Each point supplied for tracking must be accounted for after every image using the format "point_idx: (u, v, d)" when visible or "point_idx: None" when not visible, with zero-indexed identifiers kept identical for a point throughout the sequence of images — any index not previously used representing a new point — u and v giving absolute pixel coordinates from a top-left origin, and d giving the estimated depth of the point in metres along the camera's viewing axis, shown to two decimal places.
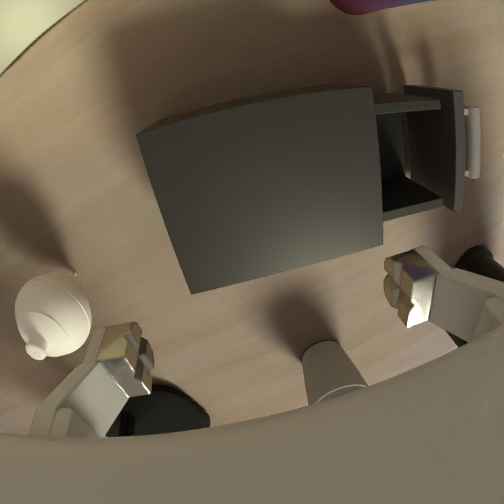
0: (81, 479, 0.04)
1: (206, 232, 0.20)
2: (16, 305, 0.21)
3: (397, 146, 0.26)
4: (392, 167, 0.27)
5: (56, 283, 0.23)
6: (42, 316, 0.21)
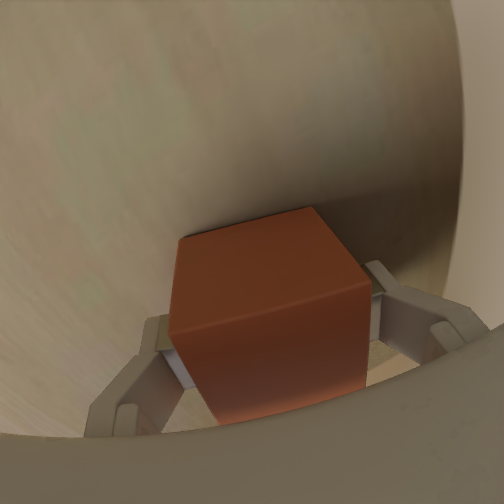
0: (81, 479, 0.04)
1: None
2: None
3: None
4: None
5: None
6: None
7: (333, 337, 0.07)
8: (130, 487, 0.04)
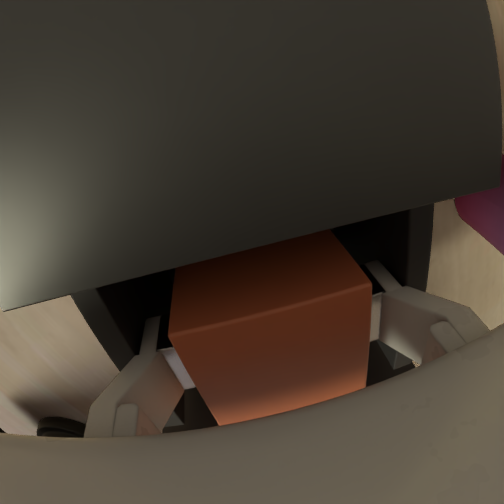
0: (81, 479, 0.04)
1: None
2: None
3: None
4: None
5: None
6: None
7: (334, 339, 0.07)
8: (130, 487, 0.04)
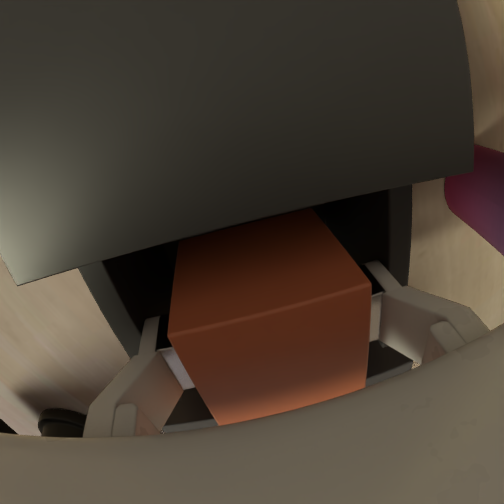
0: (81, 479, 0.04)
1: None
2: None
3: None
4: None
5: None
6: None
7: (333, 340, 0.07)
8: (130, 487, 0.04)
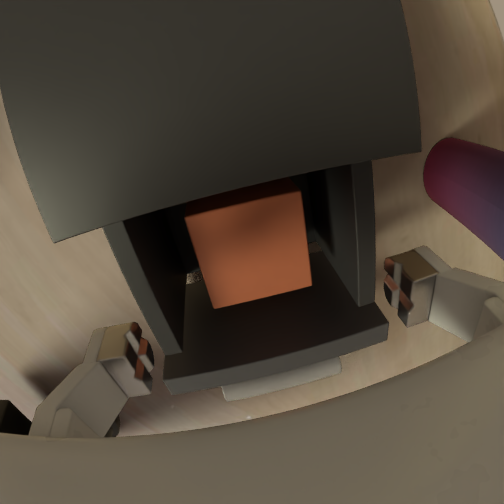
0: (81, 479, 0.04)
1: None
2: None
3: None
4: None
5: None
6: None
7: (281, 227, 0.12)
8: (130, 487, 0.04)
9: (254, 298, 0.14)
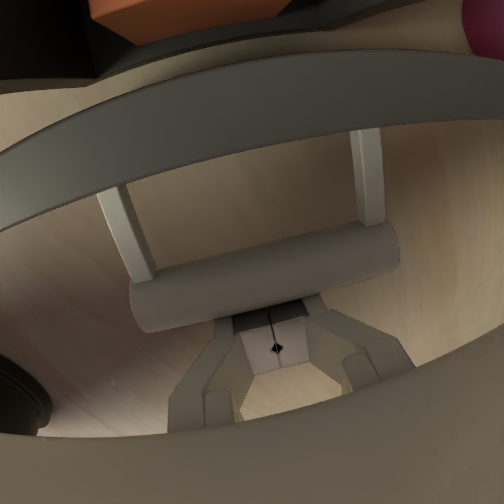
0: (81, 479, 0.04)
1: None
2: None
3: None
4: None
5: None
6: None
7: None
8: (130, 487, 0.04)
9: None
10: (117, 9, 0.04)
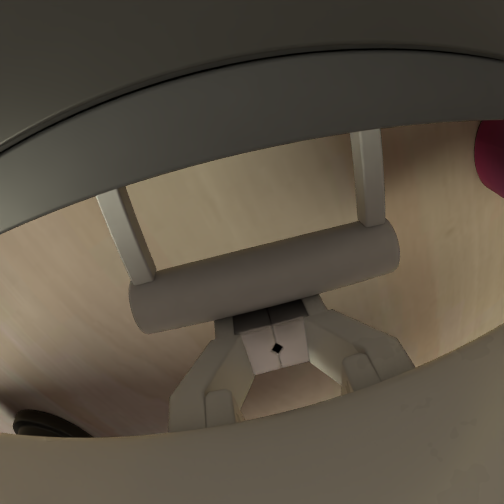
0: (81, 479, 0.04)
1: None
2: None
3: None
4: None
5: None
6: None
7: None
8: (130, 487, 0.04)
9: None
10: None
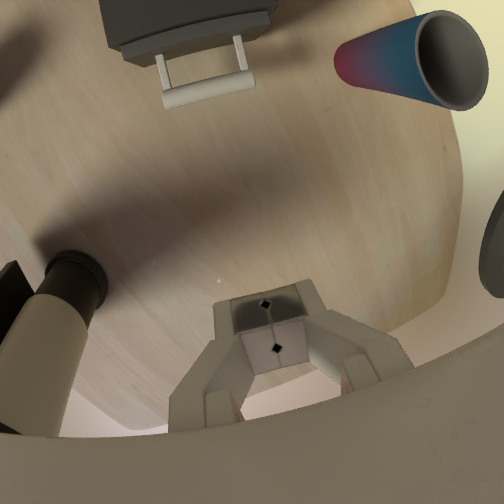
0: (81, 479, 0.04)
1: None
2: None
3: None
4: None
5: None
6: None
7: None
8: (130, 487, 0.04)
9: None
10: None
